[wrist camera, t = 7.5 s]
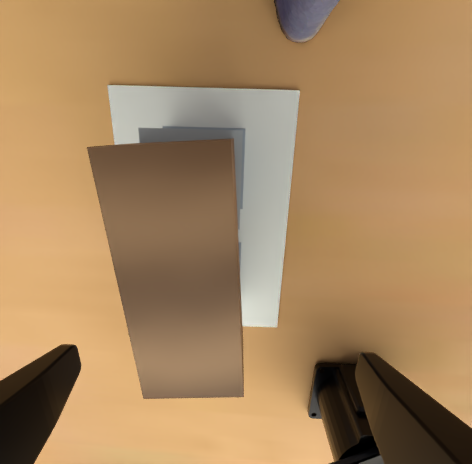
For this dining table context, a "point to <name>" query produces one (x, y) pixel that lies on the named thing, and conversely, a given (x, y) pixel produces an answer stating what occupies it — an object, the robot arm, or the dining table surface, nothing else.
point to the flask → (303, 17)
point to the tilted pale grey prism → (200, 134)
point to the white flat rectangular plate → (252, 174)
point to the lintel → (176, 262)
